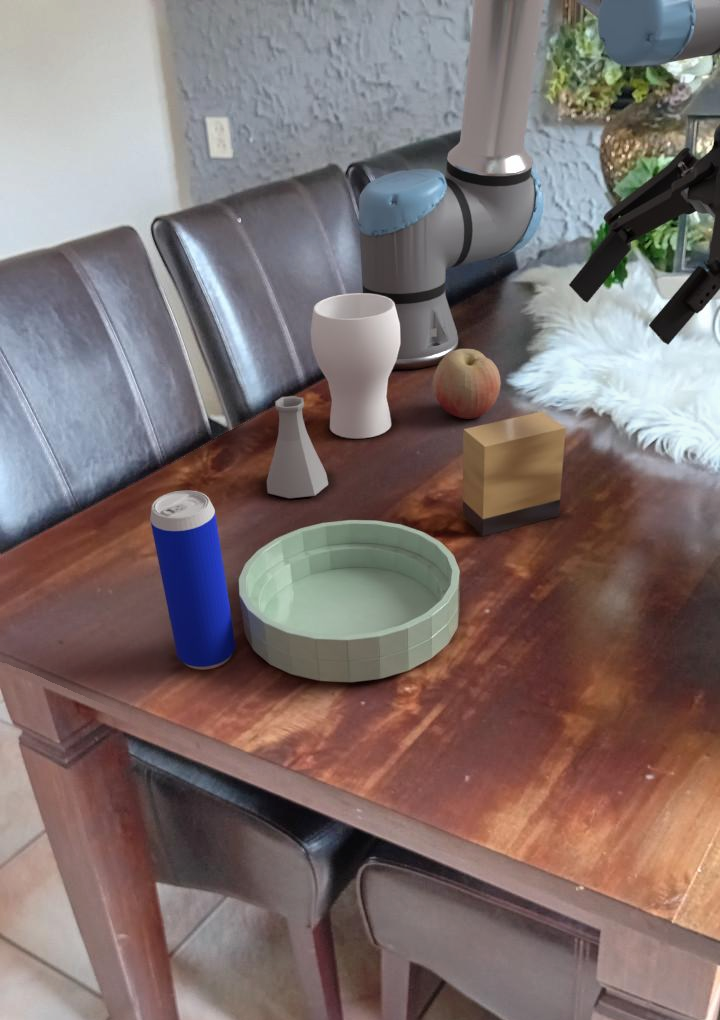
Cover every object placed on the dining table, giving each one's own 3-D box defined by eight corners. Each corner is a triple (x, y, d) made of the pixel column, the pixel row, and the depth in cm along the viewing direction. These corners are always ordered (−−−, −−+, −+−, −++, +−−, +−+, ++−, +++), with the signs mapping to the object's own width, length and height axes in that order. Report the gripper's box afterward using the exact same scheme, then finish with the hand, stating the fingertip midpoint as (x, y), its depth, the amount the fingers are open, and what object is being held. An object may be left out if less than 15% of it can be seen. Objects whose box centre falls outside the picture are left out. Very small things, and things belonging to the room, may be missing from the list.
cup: (304, 438, 123) (293, 317, 114) (338, 404, 131) (330, 288, 122) (385, 449, 120) (380, 324, 111) (414, 413, 128) (412, 294, 119)
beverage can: (212, 630, 91) (187, 482, 82) (248, 653, 88) (226, 501, 79) (166, 656, 88) (134, 505, 79) (201, 680, 85) (173, 526, 76)
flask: (321, 502, 110) (314, 416, 104) (257, 498, 111) (247, 414, 105) (335, 472, 116) (329, 389, 110) (275, 469, 117) (266, 387, 111)
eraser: (537, 498, 108) (542, 411, 102) (559, 516, 105) (565, 427, 99) (462, 517, 106) (463, 429, 100) (482, 536, 102) (484, 446, 96)
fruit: (455, 432, 123) (455, 369, 118) (423, 410, 128) (422, 349, 124) (510, 418, 125) (513, 355, 120) (477, 396, 131) (478, 336, 126)
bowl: (270, 561, 100) (264, 517, 97) (464, 567, 98) (465, 522, 95) (222, 682, 85) (214, 634, 82) (451, 693, 82) (451, 644, 79)
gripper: (893, 176, 85) (717, 378, 90) (706, 130, 104) (568, 299, 108) (859, 113, 80) (676, 330, 85) (670, 77, 99) (528, 257, 104)
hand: (615, 313), depth 97 cm, fingers open, 13 cm apart
